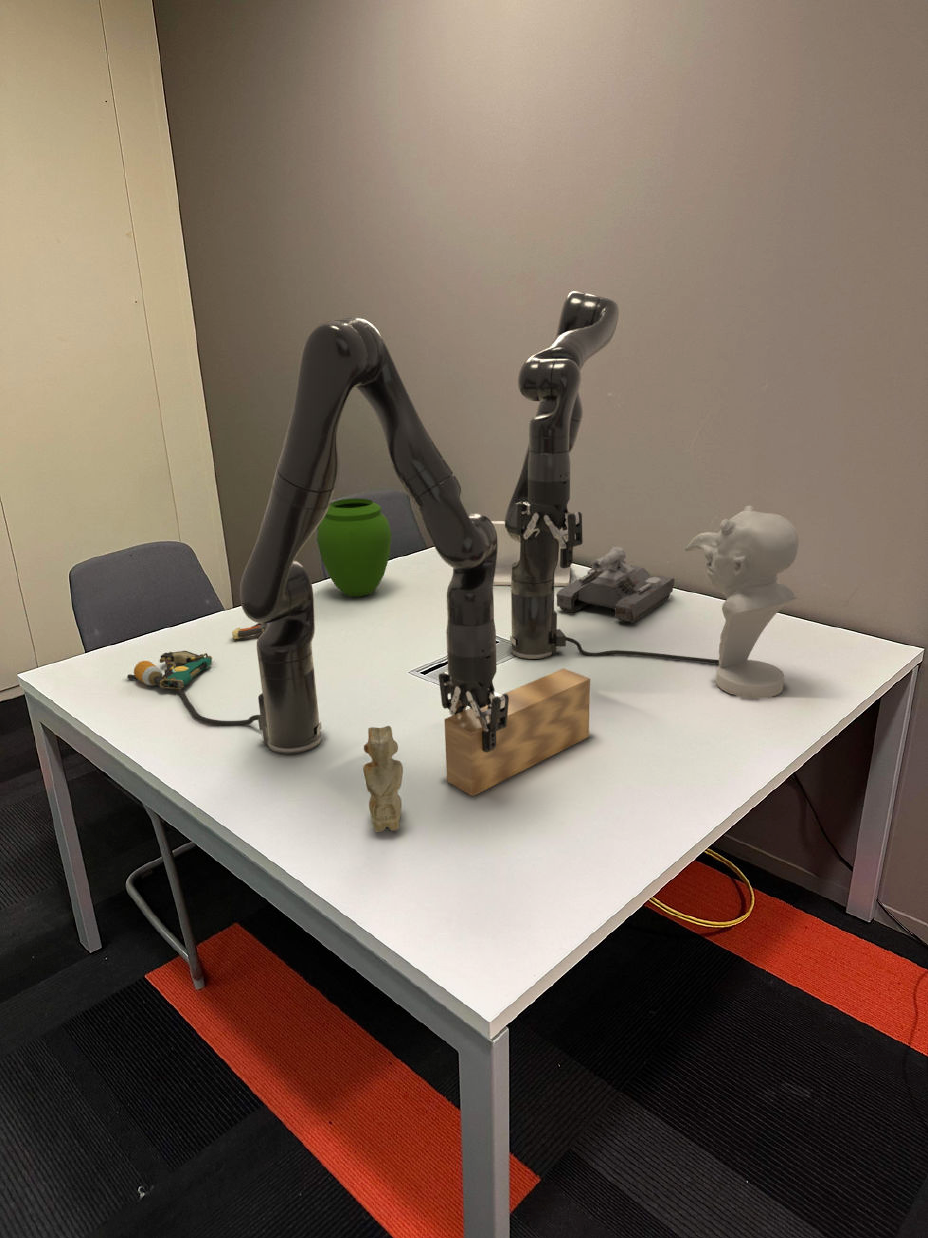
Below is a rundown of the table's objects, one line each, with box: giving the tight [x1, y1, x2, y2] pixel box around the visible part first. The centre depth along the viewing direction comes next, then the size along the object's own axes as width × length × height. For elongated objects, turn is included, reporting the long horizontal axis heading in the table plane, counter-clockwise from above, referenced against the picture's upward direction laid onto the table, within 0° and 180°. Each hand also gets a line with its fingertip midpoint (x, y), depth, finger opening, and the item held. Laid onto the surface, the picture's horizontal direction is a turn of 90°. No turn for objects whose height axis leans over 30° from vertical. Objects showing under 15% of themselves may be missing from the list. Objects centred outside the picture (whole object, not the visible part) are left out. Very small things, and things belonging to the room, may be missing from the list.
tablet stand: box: [490, 520, 571, 587], centre depth 236 cm, size 18×25×17 cm
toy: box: [556, 546, 676, 624], centre depth 212 cm, size 25×20×15 cm
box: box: [444, 668, 591, 797], centre depth 143 cm, size 28×6×11 cm, turn 131°
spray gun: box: [133, 650, 213, 690], centre depth 180 cm, size 4×17×15 cm
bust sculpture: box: [684, 505, 799, 699], centre depth 167 cm, size 16×24×35 cm
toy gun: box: [231, 623, 269, 640], centre depth 206 cm, size 3×19×10 cm
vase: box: [316, 497, 392, 598], centre depth 225 cm, size 20×20×24 cm
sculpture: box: [362, 725, 404, 833], centre depth 125 cm, size 6×7×15 cm
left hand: (474, 742), depth 136 cm, fingers closed on box, 6 cm apart
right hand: (548, 562), depth 158 cm, fingers open, 8 cm apart
